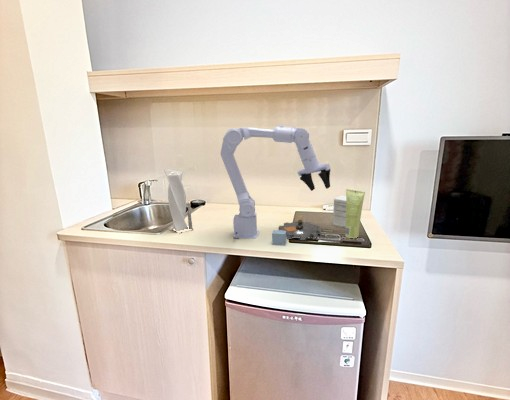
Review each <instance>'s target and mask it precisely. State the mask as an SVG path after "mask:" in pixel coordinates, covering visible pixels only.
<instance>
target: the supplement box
mask: <svg viewBox="0 0 510 400" xmlns="http://www.w3.org/2000/svg"><path fill="white" fill-rule="evenodd" d="M332 215H333V218H332V221H333V222H332V225H333V226H337V227H341V228H346V195H338V196H337V197H335V198H334V199H333V214H332Z"/></svg>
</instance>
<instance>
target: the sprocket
mask: <svg viewBox="0 0 510 400" xmlns="http://www.w3.org/2000/svg"><path fill="white" fill-rule="evenodd" d="M303 217H304V216H303V215H302V214H298V215H297V220H294V221H293V222H289V221H288V222H287V221H286V222H283V225H279V226H278V230H282V231H286V240H289V239H292V237H300V239H299V241H300V240H305V241H306V240H307V239H306V238H308V237H312V238H315V237H317V238H318V235H317V234H322V228H320V225H318V224H313V223H311V222H309V221H306V222H303V220H304V219H303ZM292 240H293V239H292Z"/></svg>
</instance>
